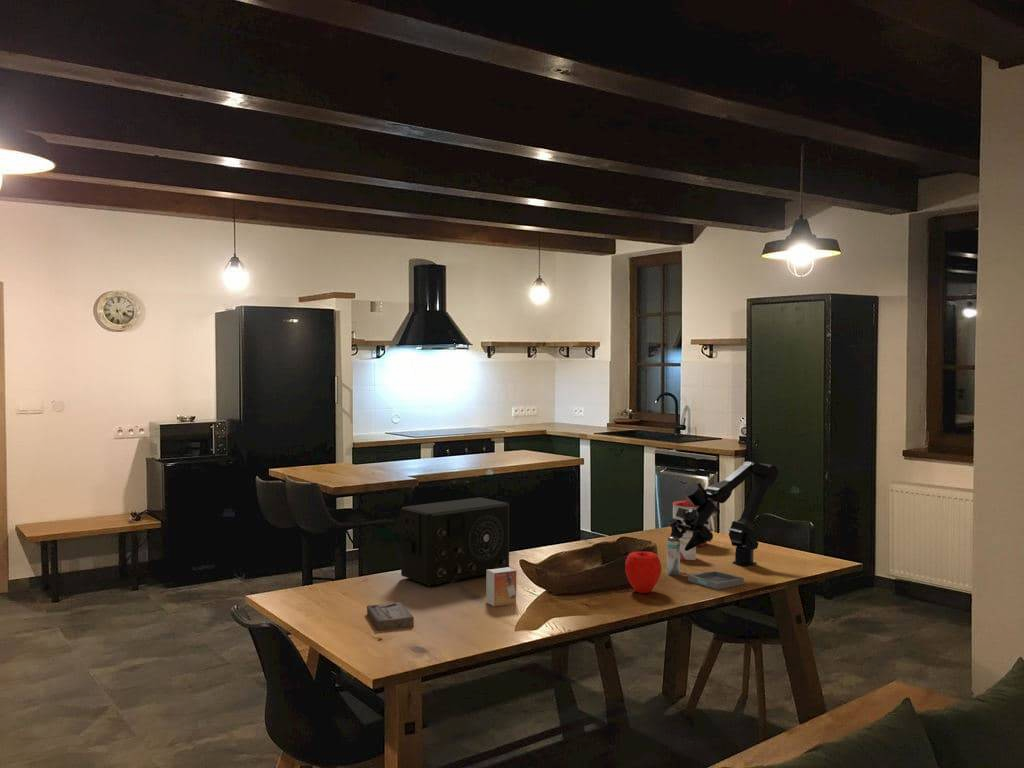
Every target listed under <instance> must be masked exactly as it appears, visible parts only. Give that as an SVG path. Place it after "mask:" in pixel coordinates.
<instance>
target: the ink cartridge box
mask: <svg viewBox="0 0 1024 768" xmlns="http://www.w3.org/2000/svg"><path fill="white" fill-rule="evenodd" d="M679 520H681V521H682V522H683V519H679ZM684 525H685V524H684ZM683 535H684V536H683V537H681V538H680V539H679V540H680V561H683V560H685V561H686V560H687V561H696V560H697V546H696V547H694V548H692V549H690V550H688V551H686V550H685V547H686V545H687V544H688V542H689V541H690V539H691V538H692V536H693V532H689V531H686V533H684V534H683Z"/></svg>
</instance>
